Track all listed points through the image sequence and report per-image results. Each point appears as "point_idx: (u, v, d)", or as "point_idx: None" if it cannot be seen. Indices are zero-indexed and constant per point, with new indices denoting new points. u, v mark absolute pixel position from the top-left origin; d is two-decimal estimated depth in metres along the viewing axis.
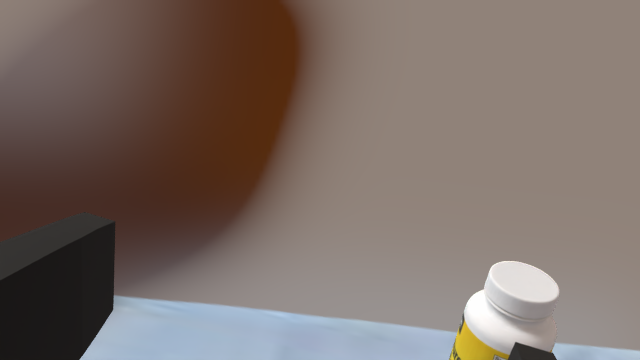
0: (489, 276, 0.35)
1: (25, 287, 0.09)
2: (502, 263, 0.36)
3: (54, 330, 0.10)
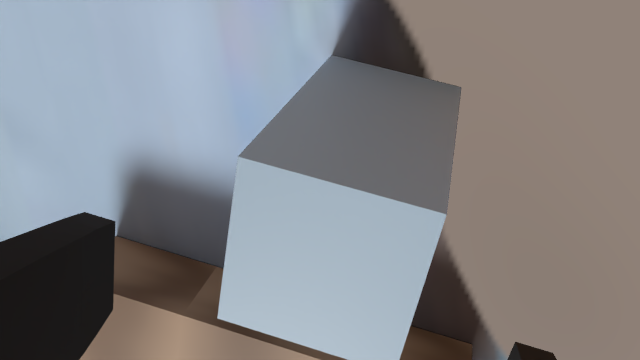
0: None
1: (25, 287, 0.09)
2: None
3: (54, 330, 0.10)
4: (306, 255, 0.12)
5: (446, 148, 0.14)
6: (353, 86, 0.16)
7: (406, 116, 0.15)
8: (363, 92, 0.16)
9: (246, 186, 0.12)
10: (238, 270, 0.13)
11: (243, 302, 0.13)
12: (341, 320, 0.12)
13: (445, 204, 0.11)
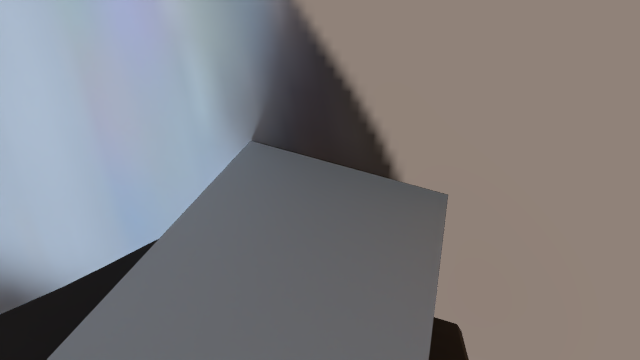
0: None
1: None
2: None
3: None
4: None
5: None
6: (268, 212, 0.10)
7: (347, 281, 0.09)
8: (281, 225, 0.10)
9: None
10: None
11: None
12: None
13: None
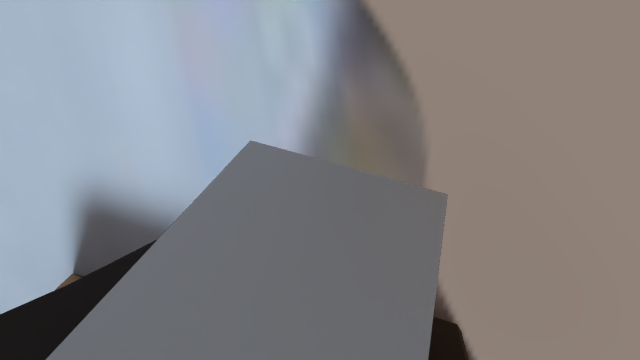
0: None
1: None
2: None
3: None
4: None
5: None
6: (268, 212, 0.10)
7: (347, 280, 0.09)
8: (282, 224, 0.10)
9: None
10: None
11: None
12: None
13: None
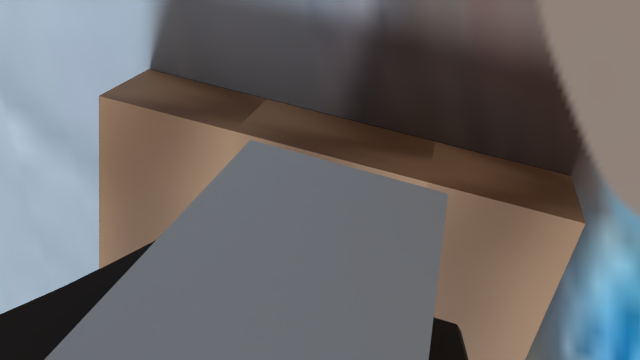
0: None
1: None
2: None
3: None
4: None
5: None
6: (268, 211, 0.10)
7: (348, 280, 0.09)
8: (282, 223, 0.10)
9: None
10: None
11: None
12: None
13: None
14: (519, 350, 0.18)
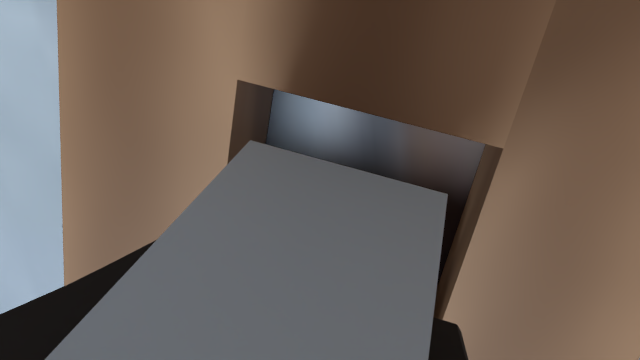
0: None
1: None
2: None
3: None
4: None
5: None
6: (268, 212, 0.10)
7: (346, 280, 0.09)
8: (281, 224, 0.10)
9: None
10: None
11: None
12: None
13: None
14: None
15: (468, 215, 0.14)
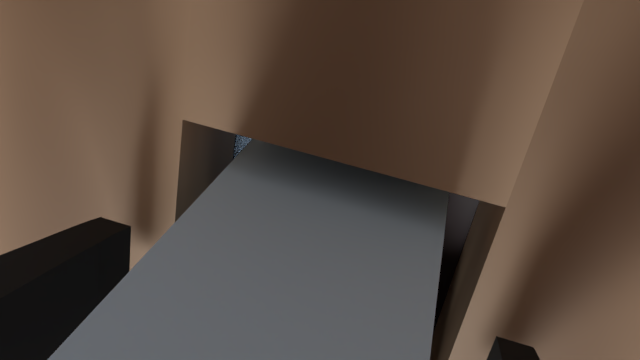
0: None
1: (44, 293, 0.09)
2: None
3: None
4: None
5: (424, 301, 0.08)
6: (295, 174, 0.11)
7: (367, 229, 0.10)
8: (307, 183, 0.11)
9: None
10: None
11: None
12: None
13: None
14: None
15: (463, 273, 0.12)
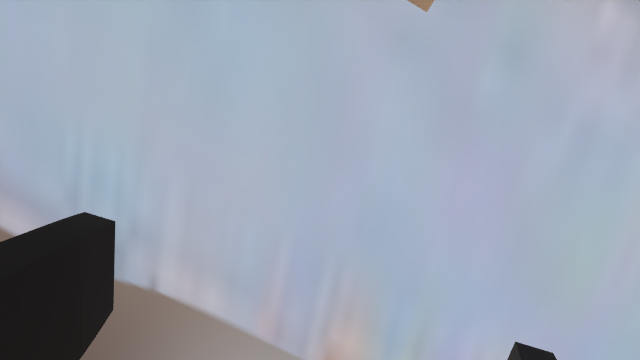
0: None
1: (25, 287, 0.09)
2: None
3: (54, 330, 0.10)
4: None
5: None
6: None
7: None
8: None
9: None
10: None
11: None
12: None
13: None
14: None
15: None
